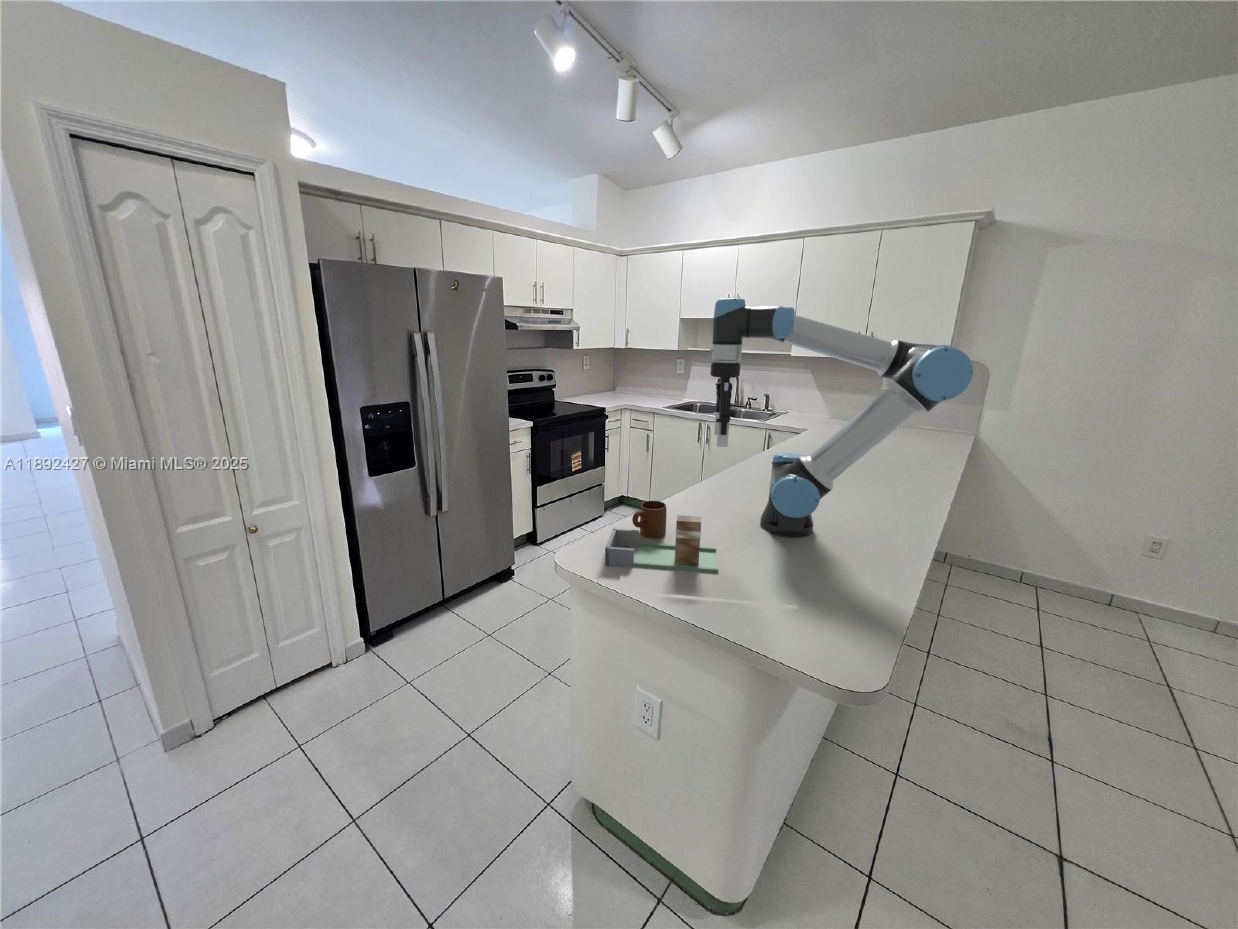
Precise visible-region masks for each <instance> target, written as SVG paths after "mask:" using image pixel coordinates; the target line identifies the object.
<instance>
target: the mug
mask: <svg viewBox="0 0 1238 929" xmlns="http://www.w3.org/2000/svg"><path fill="white" fill-rule="evenodd" d="M667 514H668V513H667V504H666V503H665V502H664V501H663V502H662V501H659V500H646V501H643V502H642V503H641V504H640V510H637V511H635V512H634V513H633V515H632V517H631V518H632V524H633V525H634V527H636V528H639V535H641V536H642V537H644V538H647V539H661V538H663V537H664V536H665V535H666V532H667Z"/></svg>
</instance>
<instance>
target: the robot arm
mask: <svg viewBox="0 0 1238 929" xmlns="http://www.w3.org/2000/svg"><path fill="white" fill-rule="evenodd" d="M714 305H715V306H714V312H713V318H712V319H713V321H712V322H713V324H712V347H710V348H709V352H710V353H711V360H713V361H711V363H710V376H711V377H713V378H718V379H717V382H716V385H715V389H716V394H715V395H716V402H715V403H716V404H715V417H714V418H715V420H714V421H715V422H714V432H713V433H714V436H716V437H717V438H716V447H717V448H718V447H719V448H728V445H729V431H730V430H729V429H730V422H731V407H732V406H731V404H732V403H731V402H732V400H731V399H732V391H733V383H732V382H731V378H733V379H734V378H738V377H739V376H741V374H740V373H741V362H739V361H741V360H742V352H743V338H746V339H750V338H752V339H754V338H755V339H770V340H773V341H778V342H780V343H785V344H788V345H792V346H795V347H798V348H801V349H805V350H807V351H811V352H813V353H817V354H819V355H824V356H827V357H830V358H833V359H837V360H841V361H843V362H847V363H851V364H854V365H857V366H861V367H864V368H866V369H870V370H874V371H876V373H877V375H878V376H879V377H882V378H886V379H887V386H886V389H885V390H884V391H883V392H881V393H880V394H879V395H878V396H877V397H876V398H875V399H874V400H872V401H871V402H870V403H869V404H868V405H866V407H864V408H863V409H862V410H861V411H859V412H858V413H857V414H856V415H855V416H854V417H853V418H851V419H850V420H849V421H848V422H847V423H846V424H844V425H843V427H842V428H840V429H839V430H838V431H836V432H835V433H834V434H833V435H832V436H831V437H830V438H828V439H827V440H826V441H825V442H824V443H822V445H820V446H819V447H818V448H816V450H814V452H812V453H811V454H809V455H808V454H801V453H794V452H793V453H791V452H779V453H775V454H774V455H773V457H772V461H771V472H770V473H771V474H770V481H769V483H770V484H769V491H768V492H769V493H768V501H767V502H766V506H765V508H764V510H763V512H762V514H761V517H760V522H759V524H760V525H759V526H760V527H761V528H762V529H763V530H766V531H768V532H770V534H772V535H775V536H779V537H783V538H791V539H792V538H793V539H794V538H795V539H796V538H799V539H800V538H804V537H805V538H806V537H808V536H810V535H811V534H812V533H813V530H814V520H813V516H812V514H813V513H814V512H815V511H816V509H817V508H818V506H819V504H820V501H821V499H822V498H824V497H825V496H826V495H827V494H829V493H830V492H831V491H832V490H833V489H834V482H835V480H836V479H837V478H838V477H840V476H841V475H842V474H844V473H845V471H847V470H848V469H849V468H851V467H852V466H853V465H854V464H856V463H857V462H858V461H859V460H860V459H862V458H863V457H864V456H866V455H867V454H868V453H869V452H870V451H871V450H874V448H875V447H876V446H878V445H879V444H880V443H882V442H883V441H884V440H885V439H886V438H887V437H889V436H890V435H891V434H892V433H894V432H895V431H896V430H897V429H899V428H900V427H901V426H902V425H903V424H905V423H906V422H907V421H908V420H910V419H911V418H912V417H914V415H916V414H928V413H929V412H930V411H931V410H933V409H934V408H935V407H936V406H937V405H938V404H940V403H941V402H945V401H948V400H952V399H954V398H956V397H958V396H961V394H962V393H964V392H965V391H966V390H967V389H968V387H969V386H970V384H971V382H972V380H973V376H974V375H973V374H974V366H973V362H972V361H971V360H972V359H970V356H968V355H967V353H965V352H964V351H962V350H961V349H959V348H957V347H954V346H952V345H951V346H950V345H947V344H940V345H938V344H937V345H936V344H928V343H927V344H924V343H923V344H922V343H913V342H906V341H903V340H899V339H894V340H892V341H887V340H884V339H880V338H876V337H874V336H871V335H867V334H863V333H859V332H855V331H852V330H848V329H845V328H841V327H838V326H835V325H831V324H829V323H824V322H822V321H817V320H813V319H810V318H806V317H803V316H801V315H800V316H799V315H796V314H795V313H796V312H795V311H796V310H795V308H794V307H793V306H785V305H783V306H782V305H779V306H747V304H746V300H745V298H737V297H735V298H733V297H730V298H719V299H717V301H715V304H714Z"/></svg>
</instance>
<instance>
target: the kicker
mask: <svg viewBox="0 0 1238 929" xmlns="http://www.w3.org/2000/svg"><path fill="white" fill-rule="evenodd" d="M675 525H676V527H675V542H674V543H675V544H674V545H675V564H676V565H688V566H698V565H699V549H700V547H701V536H702V535H701V534H702V529H701V528H702V516H694V515H682V514H681V515H680V514H679V515H678V514H677V516H676V524H675Z"/></svg>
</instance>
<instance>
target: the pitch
mask: <svg viewBox="0 0 1238 929" xmlns="http://www.w3.org/2000/svg"><path fill="white" fill-rule="evenodd" d="M639 540H640V529H639V530H638V529H623V528H612V530H611V533H610V536H609V538H608V541H607V543H606V545H605V548H604V549H605V550H604V551H605V554H604V555H605V556H604V557H605V558H604V559H605V562H604V566H605V567H613V568H614V567H615V568H624V566H628V567H638V568H639V567H640V568H650V569H651V568H654V569H655V568H656V569H662V570H663V569H666V570H677V571H678V570H679V571H690V572H691V571H692V572H704V573H714V574H715V573H717V574H718V573H719V566H718V557H717V547H711V546H700V549H699V565H698V566H688V565H676V564H675V544H670V543H669V544H668V543H667V544H666V543H654V542H653V543H652V542H641V541H639ZM630 547H637V549H636V554H635V548H630Z"/></svg>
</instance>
